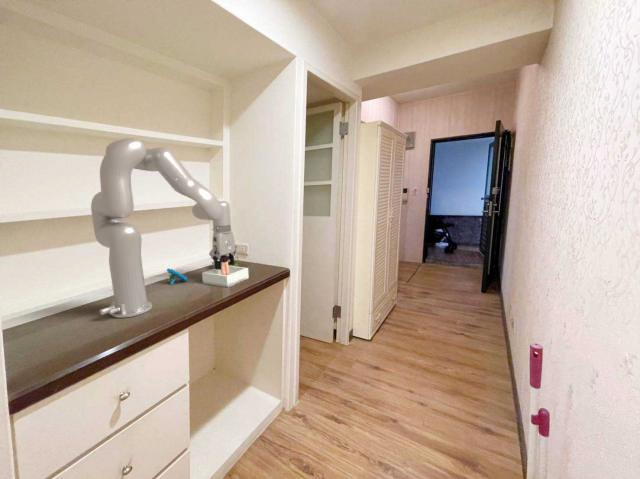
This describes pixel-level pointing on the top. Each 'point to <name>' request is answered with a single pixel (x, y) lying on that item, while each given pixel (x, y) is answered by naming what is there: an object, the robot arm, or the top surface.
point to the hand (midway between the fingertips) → (224, 266)
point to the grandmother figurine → (224, 265)
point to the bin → (225, 276)
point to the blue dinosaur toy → (175, 276)
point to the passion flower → (227, 261)
